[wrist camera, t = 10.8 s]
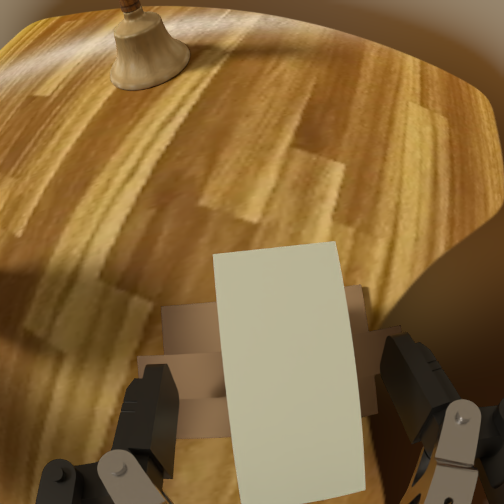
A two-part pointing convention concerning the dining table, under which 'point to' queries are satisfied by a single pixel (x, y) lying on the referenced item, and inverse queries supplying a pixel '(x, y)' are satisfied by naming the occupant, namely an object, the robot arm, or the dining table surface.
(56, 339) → the dining table surface
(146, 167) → the dining table surface
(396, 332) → the walnut rail
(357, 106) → the dining table surface
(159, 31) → the hand bell
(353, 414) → the pale slotted block
